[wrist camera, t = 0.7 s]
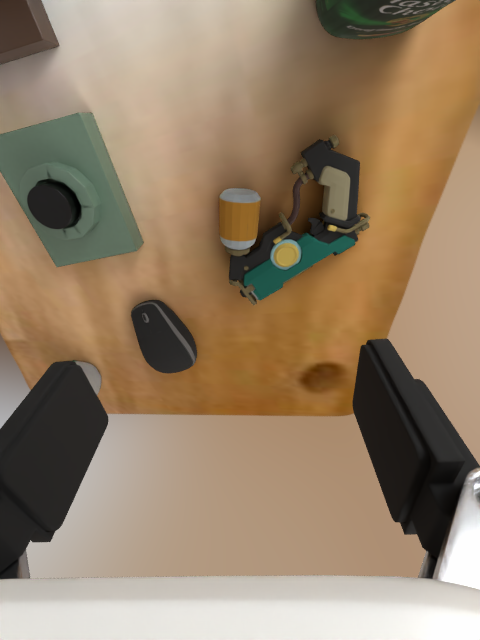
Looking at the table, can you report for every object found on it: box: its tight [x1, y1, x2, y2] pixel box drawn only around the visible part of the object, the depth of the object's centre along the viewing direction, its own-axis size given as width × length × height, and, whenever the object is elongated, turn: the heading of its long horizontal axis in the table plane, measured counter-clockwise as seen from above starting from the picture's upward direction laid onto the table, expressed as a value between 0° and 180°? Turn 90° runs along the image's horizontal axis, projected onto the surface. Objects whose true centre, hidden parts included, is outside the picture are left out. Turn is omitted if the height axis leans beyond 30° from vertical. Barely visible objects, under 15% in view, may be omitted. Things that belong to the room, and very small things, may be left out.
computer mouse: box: [131, 300, 197, 373], centre depth 42 cm, size 7×12×4 cm, turn 22°
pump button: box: [27, 182, 80, 229], centre depth 29 cm, size 4×4×2 cm
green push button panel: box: [0, 113, 144, 267], centre depth 31 cm, size 13×10×4 cm
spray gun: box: [219, 135, 370, 305], centre depth 33 cm, size 4×17×15 cm
